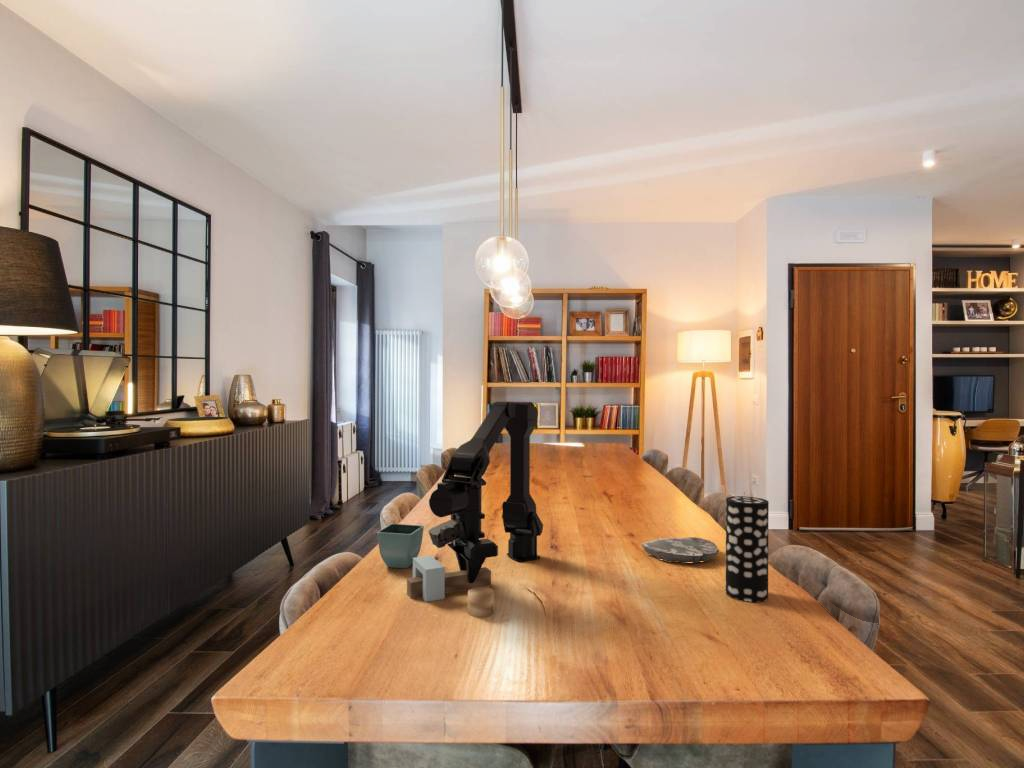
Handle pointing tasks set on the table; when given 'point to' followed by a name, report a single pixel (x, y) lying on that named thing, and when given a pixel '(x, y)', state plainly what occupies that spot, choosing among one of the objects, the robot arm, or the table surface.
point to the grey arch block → (430, 577)
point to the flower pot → (400, 544)
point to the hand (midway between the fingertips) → (467, 580)
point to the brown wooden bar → (451, 582)
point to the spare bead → (480, 602)
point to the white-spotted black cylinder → (747, 548)
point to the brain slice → (681, 549)
